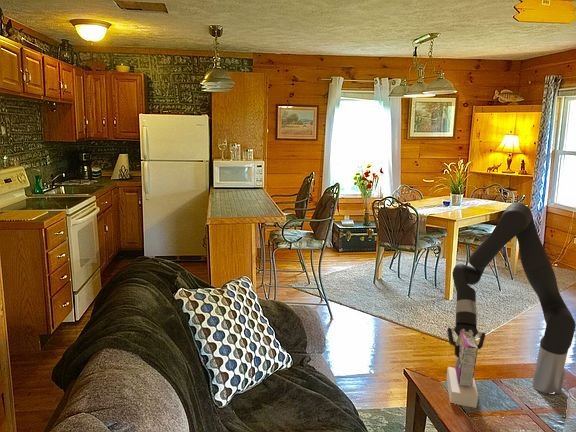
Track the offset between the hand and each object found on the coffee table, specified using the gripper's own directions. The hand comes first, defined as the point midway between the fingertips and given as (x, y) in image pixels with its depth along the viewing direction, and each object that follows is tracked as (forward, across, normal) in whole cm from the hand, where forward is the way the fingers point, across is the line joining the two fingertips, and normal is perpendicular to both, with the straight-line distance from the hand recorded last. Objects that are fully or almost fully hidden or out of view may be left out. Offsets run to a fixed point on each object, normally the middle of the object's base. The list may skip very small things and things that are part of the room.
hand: (465, 358), depth 174 cm
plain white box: (+10, 0, +10) cm, 14 cm away
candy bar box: (+6, 0, +6) cm, 8 cm away
